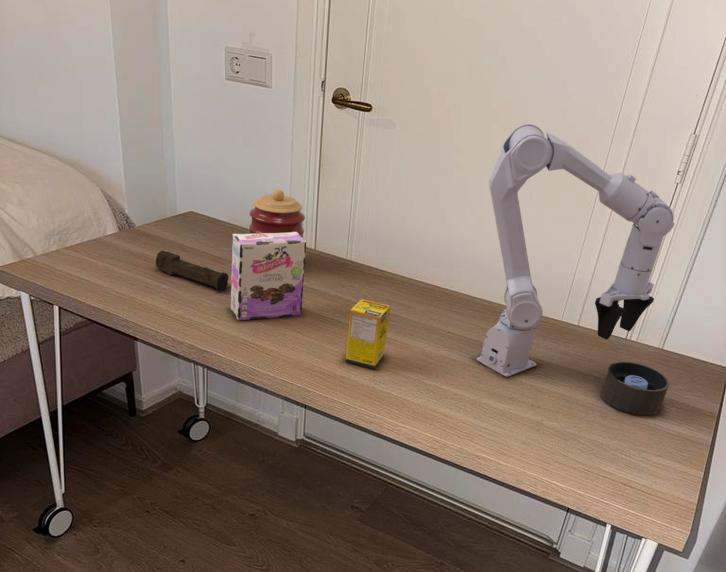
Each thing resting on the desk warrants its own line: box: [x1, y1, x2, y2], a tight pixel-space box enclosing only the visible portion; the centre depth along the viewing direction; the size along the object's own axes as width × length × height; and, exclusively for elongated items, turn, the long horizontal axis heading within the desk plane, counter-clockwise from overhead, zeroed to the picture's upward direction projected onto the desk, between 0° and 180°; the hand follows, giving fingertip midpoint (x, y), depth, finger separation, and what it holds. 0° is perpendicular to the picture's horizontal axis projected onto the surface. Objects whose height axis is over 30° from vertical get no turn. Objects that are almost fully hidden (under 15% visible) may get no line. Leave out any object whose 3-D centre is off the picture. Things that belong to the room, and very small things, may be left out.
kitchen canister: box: [248, 188, 306, 238], centre depth 169 cm, size 13×13×18 cm
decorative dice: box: [623, 375, 648, 390], centre depth 132 cm, size 4×4×4 cm
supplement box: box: [345, 298, 391, 370], centre depth 133 cm, size 6×6×11 cm
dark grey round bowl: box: [600, 360, 670, 416], centre depth 132 cm, size 11×11×6 cm
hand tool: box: [155, 250, 230, 293], centre depth 158 cm, size 19×4×5 cm, turn 60°
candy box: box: [230, 232, 307, 321], centre depth 145 cm, size 14×6×16 cm, turn 114°
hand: (614, 333), depth 137 cm, fingers open, 7 cm apart
